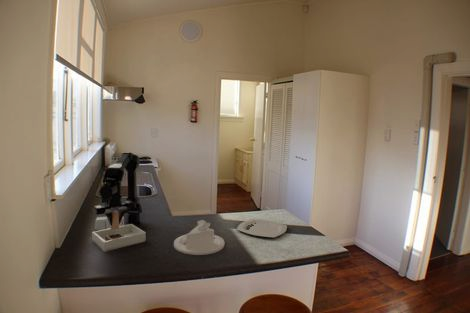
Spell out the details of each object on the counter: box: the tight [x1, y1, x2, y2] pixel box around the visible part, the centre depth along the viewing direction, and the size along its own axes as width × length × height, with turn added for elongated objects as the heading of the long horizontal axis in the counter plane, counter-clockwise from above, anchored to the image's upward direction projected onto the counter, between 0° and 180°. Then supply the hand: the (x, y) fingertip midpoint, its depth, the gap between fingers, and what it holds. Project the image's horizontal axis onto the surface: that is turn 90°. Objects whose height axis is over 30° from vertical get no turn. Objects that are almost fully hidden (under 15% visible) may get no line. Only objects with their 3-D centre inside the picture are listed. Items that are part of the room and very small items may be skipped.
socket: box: [105, 233, 125, 241], centre depth 146 cm, size 7×7×2 cm
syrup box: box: [94, 215, 125, 231], centre depth 165 cm, size 6×6×14 cm
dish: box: [173, 219, 226, 256], centre depth 148 cm, size 25×25×11 cm
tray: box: [91, 223, 147, 253], centre depth 148 cm, size 20×16×4 cm
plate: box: [236, 218, 288, 239], centre depth 171 cm, size 27×27×2 cm
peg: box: [110, 210, 119, 230], centre depth 145 cm, size 4×4×8 cm
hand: (115, 224), depth 146 cm, fingers closed on peg, 4 cm apart
